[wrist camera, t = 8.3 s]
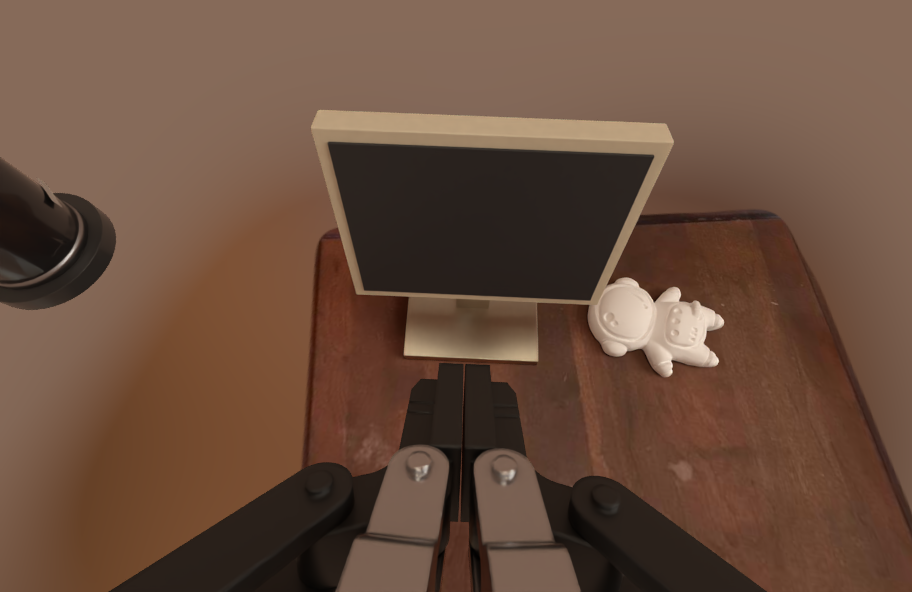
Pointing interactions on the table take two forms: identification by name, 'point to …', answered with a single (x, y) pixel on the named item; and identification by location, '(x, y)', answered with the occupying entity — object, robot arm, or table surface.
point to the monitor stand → (471, 330)
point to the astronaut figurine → (653, 326)
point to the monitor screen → (486, 201)
